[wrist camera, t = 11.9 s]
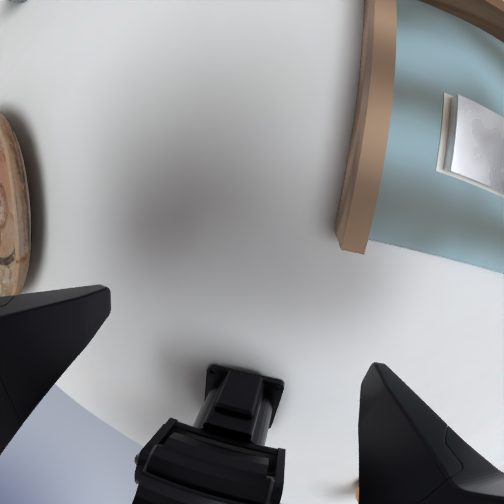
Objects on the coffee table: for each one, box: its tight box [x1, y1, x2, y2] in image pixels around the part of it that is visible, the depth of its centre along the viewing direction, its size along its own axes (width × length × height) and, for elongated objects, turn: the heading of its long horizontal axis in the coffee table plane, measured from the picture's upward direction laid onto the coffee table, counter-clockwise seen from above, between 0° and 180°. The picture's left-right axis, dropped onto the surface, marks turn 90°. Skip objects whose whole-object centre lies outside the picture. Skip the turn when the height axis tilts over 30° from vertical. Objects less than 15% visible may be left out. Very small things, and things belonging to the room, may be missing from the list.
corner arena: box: [334, 0, 504, 274], centre depth 11 cm, size 19×19×4 cm
